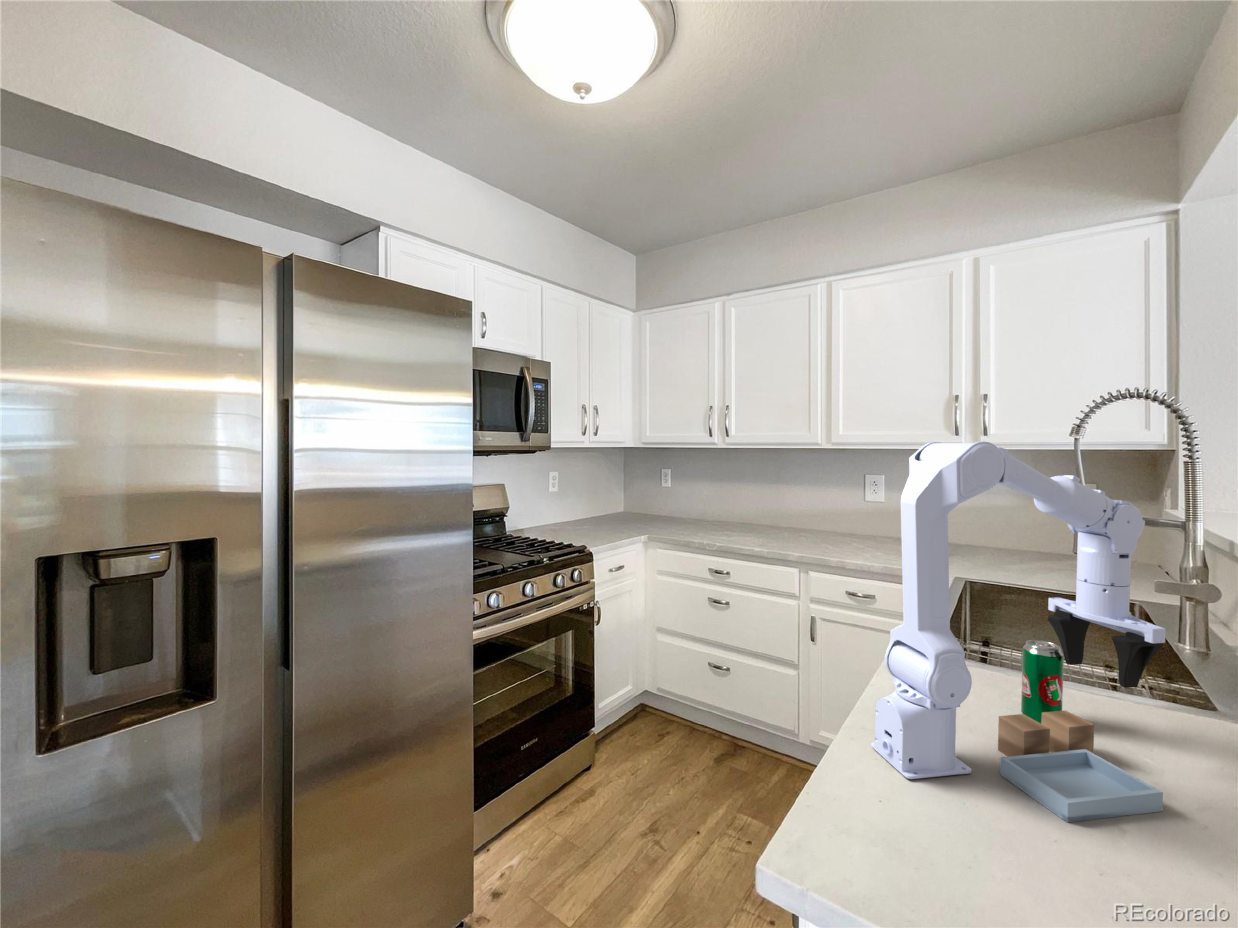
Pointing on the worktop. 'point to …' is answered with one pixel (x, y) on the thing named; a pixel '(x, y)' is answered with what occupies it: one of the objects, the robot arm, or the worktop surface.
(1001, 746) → the walnut block
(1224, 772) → the worktop surface
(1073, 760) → the tray
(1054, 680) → the soda can
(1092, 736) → the walnut block
